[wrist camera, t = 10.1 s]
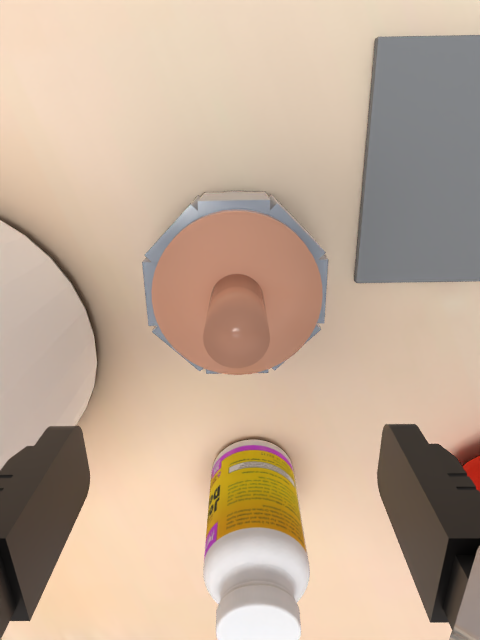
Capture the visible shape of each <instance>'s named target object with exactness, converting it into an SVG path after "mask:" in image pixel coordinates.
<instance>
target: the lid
mask: <svg viewBox="0 0 480 640" xmlns="http://www.w3.org/2000/svg"><path fill="white" fill-rule="evenodd" d="M151 292H152V305H153V311H154V314H155V318H156V321H157V323H158V325H159V327H160V329H161V332H162V333H163V335H164V336H165V338H166V339H167V341H168V342H169V343H170V344H171V345H172V347H173V348H174V349H175V350H176V351H177V352H179V353H180V354H181V355H182V356H183V357H185V358H186V359H188V360H189V361H190V362H192V363H194V364H196V365H198V366H200V367H202V368H205V369H207V370H210V371H214V372H218V373H223V374H233V375H242V374H252V373H257V372H261V371H264V370H267V369H270V368H272V367H274V366H277V365H279V364H281V363H282V362H284V361H285V360H287V359H289V358H290V357H291V356H292V355H294V354H295V353H296V352H297V351H298V350H299V349H300V348H301V347H302V346H303V345H304V344H305V342H306V341H307V340H308V338H309V337H310V335H311V333H312V332H313V330H314V328H315V326H316V324H317V321H318V319H319V315H320V311H321V307H322V298H323V293H322V281H321V276H320V272H319V269H318V266H317V264H316V262H315V259H314V257H313V255H312V254H311V252H310V251H309V249H308V248H307V246H306V245H305V243H304V242H303V241H302V239H301V238H300V237H299V236H298V235H297V234H296V233H295V232H294V231H293V230H292V229H291V228H290V227H288V226H287V225H286V224H284V223H282V222H281V221H279V220H278V219H276V218H274V217H271V216H269V215H267V214H264V213H260V212H257V211H252V210H245V209H230V210H222V211H218V212H213V213H210V214H208V215H205V216H202V217H200V218H198V219H197V220H195V221H193V222H191V223H190V224H189V225H187V226H186V227H185V228H183V229H182V230H181V231H180V232H179V233H178V234H177V235H176V236H175V237H174V238H173V240H172V241H171V242H170V244H169V245H168V246H167V248H166V249H165V250H164V252H163V254H162V256H161V257H160V259H159V261H158V264H157V266H156V269H155V272H154V276H153V281H152V291H151Z"/></svg>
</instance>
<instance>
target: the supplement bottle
mask: <svg viewBox="0 0 480 640" xmlns="http://www.w3.org/2000/svg"><path fill="white" fill-rule="evenodd" d="M309 575H310V569H309V562H308V556H307V550H306V545H305V539H304V532H303V526H302V520H301V514H300V508H299V502H298V495H297V489H296V482H295V476H294V471H293V466H292V463H291V461H290V459H289V457H288V456H287V454H286V453H285V452H284V451H283V450H282V449H280V448H279V447H278V446H276V445H274V444H272V443H270V442H267V441H263V440H255V439H253V440H244V441H239V442H236V443H234V444H232V445H230V446H228V447H227V448H225V449H224V450H223V451H222V452H221V453H220V454H219V455H218V457H217V458H216V460H215V462H214V464H213V468H212V475H211V485H210V497H209V508H208V519H207V533H206V546H205V557H204V581H205V585H206V587H207V590H208V592H209V594H210V595H211V597H212V598H213V599H214V600H215V601H216V602H217V603H218V604H219V605H218V607H217V611H216V636H217V639H218V640H299V639H300V635H301V624H300V612H299V607H298V605H297V602H298V601H299V599H300V598H301V597H302V595H303V594H304V592H305V590H306V588H307V585H308V581H309Z"/></svg>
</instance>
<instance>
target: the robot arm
mask: <svg viewBox="0 0 480 640" xmlns="http://www.w3.org/2000/svg"><path fill="white" fill-rule="evenodd" d="M377 479H378V488H379V492H380V496H381V499H382V501H383V504H384V506H385V509H386V511H387V514H388V516H389V519H390V521H391V524H392V527H393V529H394V532H395V534H396V537H397V539H398V542H399V544H400V547H401V549H402V552H403V554H404V557H405V560H406V562H407V565H408V567H409V570H410V572H411V575H412V577H413V580H414V582H415V585H416V587H417V590H418V593H419V595H420V598H421V600H422V603H423V605H424V608H425V610H426V613H427V615H428V618H429V620H430V622H449V624H450V626H451V628H452V633H451V636H450V639H449V640H480V491H479V490H477V489H476V486H475V484H474V483H473V481H472V480H471V478H470V477H469V476H467V473H466V471H465V470H464V468H463V467H462V465H461V464H460V462H459V461H458V460H457V458H456V457H455V456H454V455H452V454H451V453H450V452H448V451H447V450H446V449H444V448H443V447H442V446H441V445H439V444H428V442H427V440H426V439H425V437H424V436H423V434H422V433H421V431H420V429H419V428H418V426H417V425H415V424H386V425H385V426H384V428H383V432H382V440H381V448H380V455H379V463H378V472H377ZM89 484H90V471H89V465H88V460H87V454H86V449H85V444H84V438H83V433H82V430H81V428H80V427H79V426H49V427H48V428H47V429H46V430H45V431H44V433H43V434H42V436H41V437H40V438H39V440H38V441H37V443H36V444H35V445H34V446H26V447H25V448H23V449H22V450H21V451H19V452H18V453H17V454H15V455H14V456H12V457H11V458H10V459H9V460H8V461H7V462H6V463H5V465H4V466H3V467H2V469H1V470H0V640H2V638H1V637H2V635H3V633H4V631H5V629H6V627H7V625H8V623H9V621H30V620H31V617H32V615H33V613H34V611H35V609H36V607H37V604H38V602H39V600H40V598H41V596H42V593H43V591H44V589H45V587H46V585H47V582H48V580H49V578H50V576H51V574H52V571H53V569H54V567H55V565H56V563H57V561H58V558H59V556H60V554H61V552H62V550H63V547H64V545H65V543H66V541H67V539H68V536H69V534H70V532H71V530H72V528H73V525H74V523H75V521H76V519H77V517H78V515H79V512H80V510H81V508H82V506H83V504H84V501H85V499H86V497H87V494H88V490H89Z"/></svg>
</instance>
